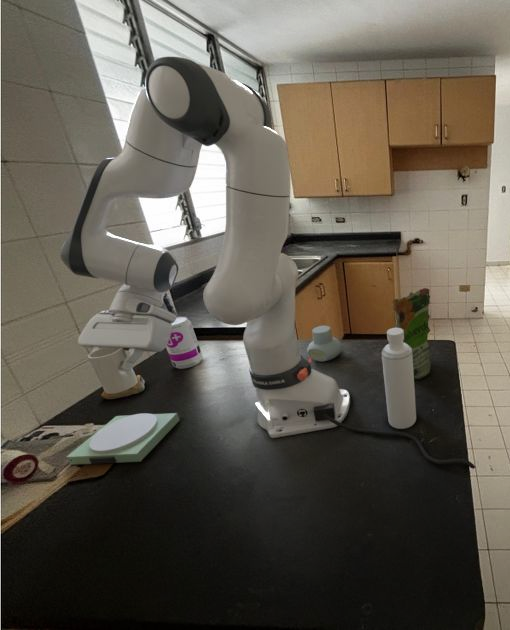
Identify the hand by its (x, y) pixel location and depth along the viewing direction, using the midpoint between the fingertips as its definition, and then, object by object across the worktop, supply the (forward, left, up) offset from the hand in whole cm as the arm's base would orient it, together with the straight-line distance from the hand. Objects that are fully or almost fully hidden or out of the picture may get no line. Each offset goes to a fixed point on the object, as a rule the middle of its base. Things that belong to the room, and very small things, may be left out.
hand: (110, 369), depth 73 cm
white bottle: (-63, 0, -17) cm, 65 cm away
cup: (0, -1, -5) cm, 5 cm away
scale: (0, +3, -17) cm, 18 cm away
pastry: (+16, -17, -17) cm, 29 cm away
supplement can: (+8, -32, -17) cm, 37 cm away
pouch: (-66, -21, -17) cm, 71 cm away
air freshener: (-37, -32, -17) cm, 52 cm away
